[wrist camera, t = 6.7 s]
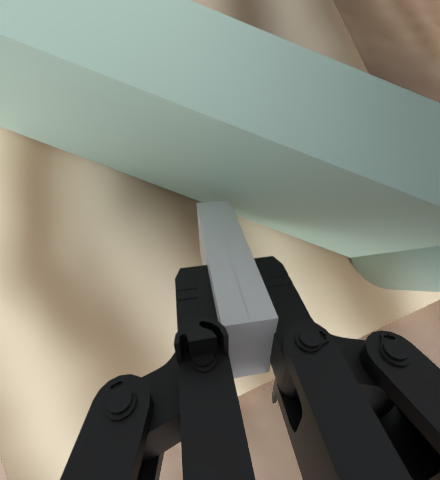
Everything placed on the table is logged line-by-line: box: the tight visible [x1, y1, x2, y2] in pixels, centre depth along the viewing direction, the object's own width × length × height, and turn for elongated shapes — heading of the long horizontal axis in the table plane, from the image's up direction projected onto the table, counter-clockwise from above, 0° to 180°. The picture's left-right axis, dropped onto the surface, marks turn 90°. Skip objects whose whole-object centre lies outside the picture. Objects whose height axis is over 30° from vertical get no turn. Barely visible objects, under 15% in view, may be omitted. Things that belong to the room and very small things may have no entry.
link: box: [0, 0, 440, 292], centre depth 11 cm, size 28×5×8 cm, turn 70°
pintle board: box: [0, 0, 440, 480], centre depth 11 cm, size 26×28×11 cm
